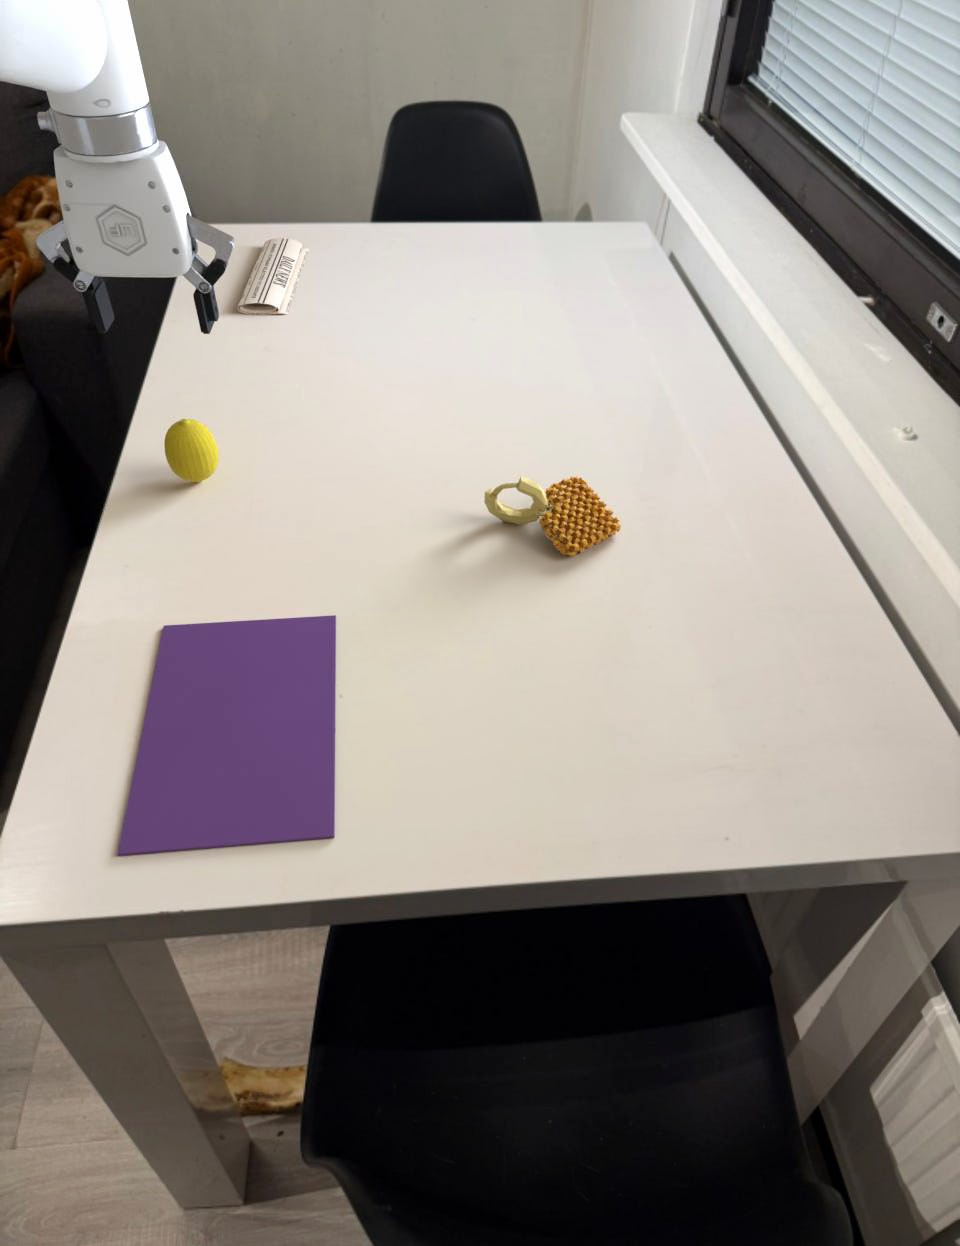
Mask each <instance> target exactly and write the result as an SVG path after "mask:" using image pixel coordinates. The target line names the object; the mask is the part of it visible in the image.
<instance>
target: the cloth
mask: <svg viewBox="0 0 960 1246" xmlns="http://www.w3.org/2000/svg"><path fill="white" fill-rule="evenodd" d="M336 658H337V615H336V614H335V615H317V616H316V615H315V616H302V617H285V618H269V619H268V618H267V619H254V620H253V619H250V620H234V621H217V622H216V621H215V622H203V623H202V622H201V623H199V622H197V623H184V624H182V623H181V624H168V625H163V626H162V632H161V637H160V641H159V646H158V651H157V657H156V662H155V666H154V672H153V676H152V681H151V686H150V691H149V695H148V696H149V697H148V701H147V706H146V709H145V710H146V711H145V716H144V721H143V726H142V730H141V736H140V740H139V745H138V750H137V756H136V760H135V765H134V769H133V775H132V780H131V786H130V790H129V795H128V800H127V804H126V809H125V814H124V819H123V824H122V829H121V834H120V839H119V844H118V849H117V856H118V857H127V856H136V855H148V854H159V853H171V852H173V853H174V852H184V851H192V850H193V851H195V850H207V849H209V850H210V849H219V848H221V849H222V848H230V847H231V848H233V847H242V846H255V845H269V844H278V843H279V844H280V843H291V842H303V841H315V840H327V839H334V838H335V827H336V826H335V824H336V823H335V822H336V821H335V819H336V816H335V815H336V814H335V812H336V811H335V810H336V809H335V808H336V805H335V804H336V799H335V798H336V796H335V795H336V793H335V792H336V686H337V685H336V681H337V679H336V669H337V668H336V667H337V659H336Z"/></svg>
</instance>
